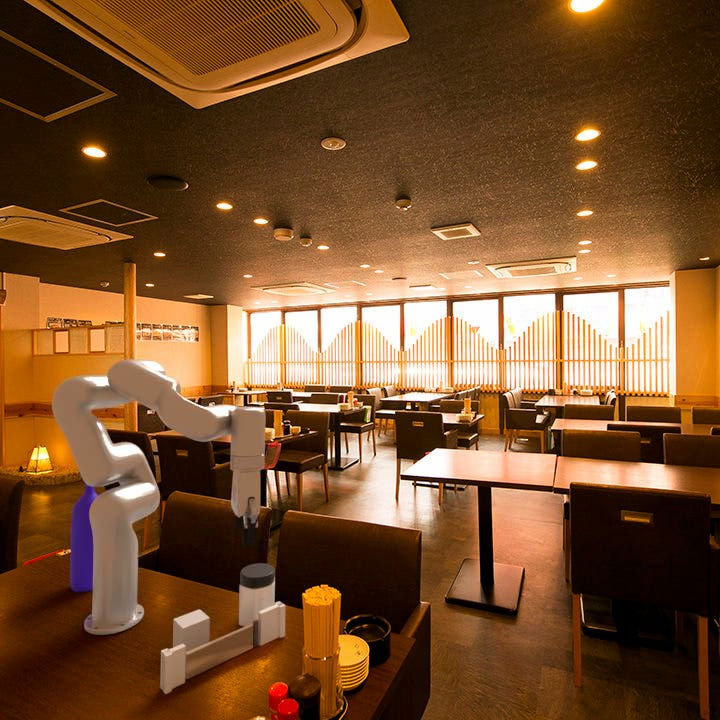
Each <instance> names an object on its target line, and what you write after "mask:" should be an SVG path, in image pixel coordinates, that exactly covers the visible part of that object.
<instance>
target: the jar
mask: <svg viewBox="0 0 720 720" xmlns="http://www.w3.org/2000/svg"><path fill="white" fill-rule="evenodd" d="M275 571H276V570H275V568H274V566H273V565H271V564H269V563H264V562H263V563H262V562H259V563H252V564H249V565H246V566H245V567H243V568H242V569H241V570H240V584H239V586H238V587H239V588H238V589H239V592H238V596H239V598H238V599H239V600H238V601H239V602H238V603H239V604H238V625H239V626H241V627H245V626H247V625H250V624H252V625H253V621H254V620H258V612H259V611H261V610H264V609H266V608H268V607H271V606H273V605H275V603H276V602H275V597H276V594H275V592H276V591H275V590H276V573H275Z"/></svg>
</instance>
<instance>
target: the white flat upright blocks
mask: <svg viewBox="0 0 720 720" xmlns="http://www.w3.org/2000/svg"><path fill="white" fill-rule="evenodd" d="M258 621H259V623H258V646H263V645H265V644H268V643H270V642H272V641H274V640H276V639H282V638H284V637H285V636H286V604H284V603H283V602H281V601H276V602H275V605H273V606H271V607H268V608H266V609H264V610H261V611H259V612H258ZM185 654H186V646H185V645H184V644H181V645H178V646H176V647H171V648H168V647H167V648H164V649H161V651H160V686H159V687H160V690H162V692H163V693H164V695H167V694H169V693H171V692H172V691H173V689H175V688H176V687H179V686H181V685H184V684H185V683H186V677H185V663H186V656H185Z"/></svg>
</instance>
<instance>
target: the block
mask: <svg viewBox="0 0 720 720" xmlns="http://www.w3.org/2000/svg"><path fill="white" fill-rule="evenodd" d="M172 621H173V623H172V624H173V625H172V627H173V628H172V648H174V647H176V646H178V645H181V644H184V645H185V646H186V652H188V651H190V650H193V649H195V648H197V647H199V646H202V645H204V644H206V643H209V642H210V632H211V631H210V630H211V627H210V626H211V625H210V624H211V617H209V616H208V615H207V614H206V613H205V612H203V610H201V609H197V610H194V611H191V612H189V613H185V614H183V615H181V616H178V617H175V618H173V619H172ZM185 657H186V654H185Z"/></svg>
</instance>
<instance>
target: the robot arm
mask: <svg viewBox="0 0 720 720" xmlns="http://www.w3.org/2000/svg"><path fill="white" fill-rule="evenodd" d="M181 390H182V387H181V384H180V382H179V381H178V380H176V379H174V378H172V377H171V376H168V375H166V371H165V369H164V367H163V366H162V365H161V364H160V363H159V362H157V361H154V360H151V359H132V358H131V359H130V358H129V359H128V358H127V359H122V360H119V361H117V362H114V363H113V364H112V365H111V366H110V368H109V369H108V371H107V373H106V374H90V375H89V374H87V375H77V376H72V377H69V378H67V379H65V380H63V381H62V382H61V383H59V385H58V386H57V387H56V388H55V390H54V392H53V396H52V398H51V399H52V400H51V409H52V413H53V417H54V419H55V422H56V423H57V425H58V427H59V428H60V430H61V431H62V434H63V435H64V437H65V439H66V441H67V443H68V446H69V448H70V452H71V454H72V456H73V459H74V462H75V464H76V466H77V469H78V471H79V473H80V476H81V478H82V481H83V482H84V483H85V485H86V484H87V485H88V486H91V487H94V488H100V487H104V486H108V485H110V484H115V483H117V482H118V483H119V486H116V487H113V488H110V489H108V490H106V491H104V492H102V493H101V494H99V495H98V497H97V498H96V499H95V500H94V501H93V503H92V504H91V507H90V511H89V517H90V523H91V527H92V533H93V590H92V603H91V604H92V606H91V607H92V609H91V614H89V615H88V616H87V617H86V618H85V620H84V624H83V626H84V630H85V631H86V632H87V633H88V634H91V635H98V636H100V635H101V636H103V635H105V636H107V635H112V634H118V633H120V632H123V631H124V632H125V630H129V629H131V628H132V627H134V626H135V625H137V624H138V623H140V621H141V620H142V619H143V617H144V615H145V609H144V607H143V606H142V605H141V604H139V603H138V579H139V577H138V576H139V575H138V573H139V570H138V569H139V541H138V537H137V535H136V532H135V530H134V528H133V523H135V522H138V521H140V520H142V519H143V518H145V517H147V516H149V515H151V514H153V513H154V512H155V511H156V510H157V508H158V507H159V506H160V500H161V495H160V494H161V493H160V490H159V489H160V488H159V487H158V484H157V482H156V478H155V477H154V474H153V472H152V471H153V470H151V467H150V465H149V462H148V460H147V457H146V456H145V454H144V452H143V450H142V449H141V448H140V447H139V446H138V445H136V444H134V443H132V442H128V441H121V442H117V443H113V441H112V440H111V437H110V435H109V433H108V431H107V429H106V427H105V424H103V422H102V421H101V420H100V419H99V418H98V417H97V416H95V415H94V414H93V413H92V410H100V409H108V408H110V409H111V408H116V407H120V406H124V405H126V404H129V403H132V402H137V403H138V404H140V405H143V406H144V407H147V408H148V409H150V410H152V411H155V412H156V413H157V416H158V417H159V419H160V420H161V421H162V423H163V424H164V425H165V426H166V427H167V428H169V429H171V430H172V431H174V432H176V433H179V434H180V435H182V436H184V437H186V438H188V439H189V440H190V439H191V440H193V441H197V442H203V443H205V442H209V441H213V440H216V439H220V438H225V437H229V436H230V464H229V465H230V470H231V471H232V484H231V499H230V503H231V504H230V505H231V508H232V511H233V512H234V531H235V532H242V540H241V541H242V542H241V544H242V547H244V548H247V547H253V546H257V545H258V544H259V521H258V520H259V519H258V516H259V514H260V511H261V470H263V469H265V462H266V461H265V457H266V455H265V453H266V452H265V451H266V420H267V419H266V411H265V409H264V408H262V407H259V406H237V405H232V404H226V403H225V404H214V405H207V406H202V405H200V404H198V403H195V402H192V401H191V400H188V399H187V398H185V397H183V396H182V395H181Z"/></svg>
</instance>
